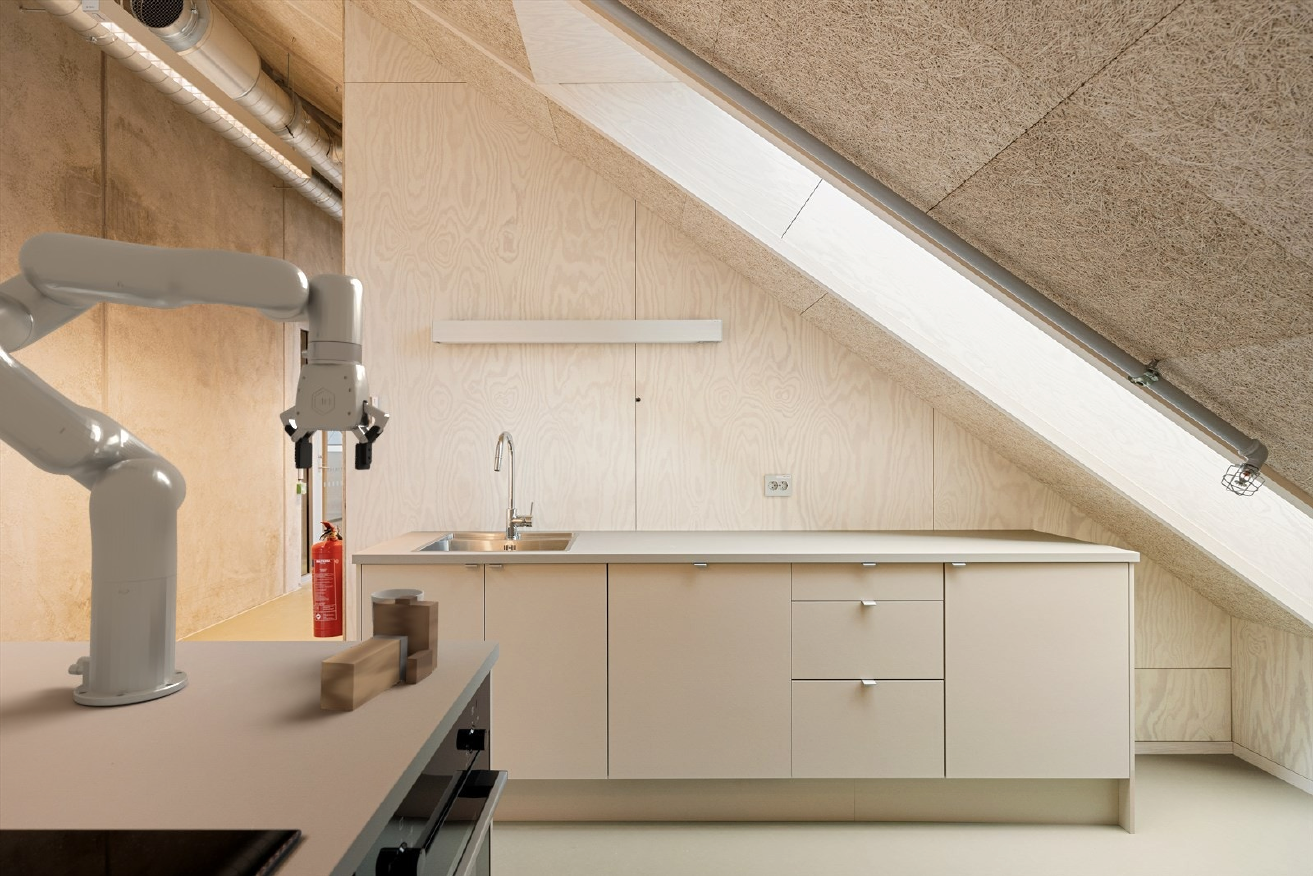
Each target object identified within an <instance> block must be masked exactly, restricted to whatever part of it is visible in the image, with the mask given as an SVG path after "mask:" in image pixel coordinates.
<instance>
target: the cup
mask: <svg viewBox="0 0 1313 876" xmlns="http://www.w3.org/2000/svg"><path fill="white" fill-rule="evenodd" d="M370 595H371V597H370V598H371V601H370V602H371V618H372V619H371V621H372V623H373V611H374V603H376V602H378V601H381V600H383V599H389V600H395V598H398V597H400V596H402V595H406V596H417V601H424V600H425V599H424V597H425V596H424V595H425V591H424V590H422V589H416V588H391V589H390V588H389V589H384V590H383V589H382V590H377V591H375V592H372V593H371V594H370Z"/></svg>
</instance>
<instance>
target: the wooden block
mask: <svg viewBox="0 0 1313 876" xmlns="http://www.w3.org/2000/svg"><path fill="white" fill-rule="evenodd" d="M407 642H408V636H392V635H375V636H373V635H372V637H369V638H368V639H366V640H364V641H362V642H360V643H357V644H355V645H354V646H352V647H350V648H348V649H345V650H344V651H341V652H339V653H337V654H335V655H332V657H329V658H327V659H325V660H323V661H321V665H320V667H321V672H320V673H321V674H320V678H321V679H320V709H321V710H334V711H346V712H347V711H348V712H354V711H355V710H357V709H359V708H360V707H362V706H364V704H365V705H366V703H367V702H370V701H371V700H373V699H374V698H375V697H378V695H381V694H382V693H384V692H385V691H387V690H389V689H390V688H391V687H393V686H394V685H396V684H397V683H400V682H402V681H403V680H406V662H407Z"/></svg>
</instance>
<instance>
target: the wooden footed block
mask: <svg viewBox="0 0 1313 876" xmlns="http://www.w3.org/2000/svg"><path fill="white" fill-rule="evenodd" d="M438 632H439V601H432V600H431V601H430V600H429V601H428V600H423V601H417V596H406V595H402V596H400V597H398V598H395V600H389V599H383V600H381V601H378V602H376V603H374V611H373V622H372V637H373V636H375V635H392V636H408V642H407V662H406V678H405V683H407V684H418V683H420V682H421V681H423V680H424V679H425V678H427V677H429V676H430V675H431V674H432V673H433V670H435V669H436V668H438V641H439V633H438Z"/></svg>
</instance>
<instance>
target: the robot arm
mask: <svg viewBox="0 0 1313 876" xmlns="http://www.w3.org/2000/svg"><path fill="white" fill-rule="evenodd" d="M17 261H18V266H19V269H20V273H18V274H17V275H14V276H13V277H11V278H9V279H7V280H5V281H3V282H1V283H0V440H1V441H2V442H4V443H5V444H6V445H8V446H9V447H10V448H12V449H13V450H14V451H16V452H17V453H19V455H21V456H22V457H24V458H25V459H26V460H27V461H28V462H29V463H31V464H32V465H33V466H35V467H36V468H38V469H40V470H41V471H43V472H45V473H49V474H52V475H59V476H69V477H70V478H71V479H73V480H74V481H76V482H77V483H79V484H80V485H81V486H82V487H84V488H86V490H88V491H90V494H89V495H90V496H89V503H88V515H89V524H90V527H89V528H90V538H91V539H90V540H91V541H90V542H91V567H90V568H91V569H90V571H91V574H90V575H91V577H90V579H91V596H90V600H91V601H90V630H89V631H90V632H89V634H90V635H89V656H86V655H85V656H81V657H79V658H78V659H77V660H76V662H75V663H74V664H70V665H69V667H68V670H67V672H68V674H69V675H72V676H73V675H75V676H81V675H82V681H81V683H82V684H80V685H78V686H77V687H76V688H74V691H73V700H74V702H76V703H78V704H80V705H84V706H96V707H100V706H102V707H103V706H104V707H107V706H119V705H129V704H135V703H139V702H140V703H141V702H145V701H149V700H150V701H151V700H154V699H158V698H161V697H164V696H168V695H170V694H173V693H175V692H178V691H181V690H182V689H183V688H184V687H186V685H187V684H188V678H189V675H188V674H187V673H186V672H185V671H184V670H180V669H176V633H177V632H176V629H177V595H178V593H177V591H178V510H179V509H180V507H182V505H183V503H184V502H185V499H186V495H187V484H186V483H187V482H186V480H185V478H184V475H183V474H182V472H181V471H180V470H179V469H178V468H177V467H176V466H175V465H174V464H173V463H172V462H170V461H169V460H168V459H166V458H165V457H164V456H163V455H161V454H160V453H159V452H157V451H156V450H154V449H153V448H152V447H150V446H149V444H147V443H145V442H144V441H143V440H142V439H140V438H139V437H137V436H136V435H135V434H133V433H132V432H131V431H130V430H128V429H127V428H126V427H124V426H123V425H122V424H120V423H119V422H118V421H116V420H115V419H114V418H112V417H111V416H109V415H107V414H105V413H104V412H102V411H99V410H97V409H94V408H90V407H86V406H83V405H80V404H77V403H76V402H74V401H73V400H71V399H70V398H68V397H67V396H65V394H62V393H61V392H60V391H58V390H57V389H56V388H55V387H53V386H52V385H50V384H49V383H48V382H46V381H45V380H44V379H43V378H41V377H40V376H39V375H38V374H37V373H35V372H34V370H31V369H30V368H29V367H28V366H26V365H24V364H23V363H21V362H20V361H18V360H17V359H16V358H15V357H14V356H12V355H11V354H10V353H15V352H18V351H20V350H23V349H25V348H26V347H29V346H31V345H33V344H34V343H36V342H38V341H40V340H42V339H43V338H45V337H46V336H48V335H49V334H51V333H53V332H55V331H56V330H58V329H60V328H62V327H63V326H64V325H66V324H68V323H70V322H72V321H73V320H75V319H76V318H77V319H78V318H79V317H80V316H81V315H84V314H85V313H86V312H88V311H90V310H91V309H92V308H94V307H95V306H97V305H98V304H100V303H109V304H116V305H127V306H134V307H135V306H136V307H139V308H141V307H142V308H149V309H150V308H151V309H155V310H156V309H157V310H158V309H159V310H175V309H177V310H178V309H181V308H183V307H188V306H192V305H204V304H205V305H207V304H208V305H209V304H210V305H225V306H227V305H228V306H233V307H234V306H235V307H241V308H242V307H243V308H252V309H256V310H257V311H258V312H259V314H260V315H261V316H263V317H265V319H268V320H270V321H273V322H277V323H300V322H302V323H303V322H308V344H307V349H302V351H301V357H302V358H303V359H307V364H302V366H301V369H300V373H299V378H298V381H297V387H296V395H295V402H294V405H293V406H292V407H290V408H288V409H286V410H284V411H283V412H281V413H280V414H279V419H280V420H281V423H282V426H283V427H284V428H283V429H284V431H285V433H286V434H287V435H288V436H289V437H290V440H291V442H292V443H294V462H295V465H294V466H295V469H296V470H301V469H302V470H305V469H311V468H313V443H312V442H309V441H310V439H312V437H313V436H314V435H315V433H317V431H329V432H330V431H333V432H336V431H337V432H339V431H340V432H341V431H342V432H352V433H353V435H354V436H355V437H356V440H358V442H357V443H355V446H354V447H355V448H354V449H355V451H354V457H355V458H354V469H355V470H357V471H362V470H363V471H364V470H370V468H371V465H372V462H373V444H375V443H376V441H377V439H378V438H379V437H380V436H381V435H382V434H383V432H384V429H385V427H386V425H387V423H388V422H389V420H390V415H389V414H388V413H386V412H384V411H383V410H381V409H379V408H378V407H375V406H374V405H372V404H371V398H370V386H369V379H368V374H367V369H366V367H365V366H363V365H362V364H363V321H364V320H363V319H364V318H363V316H364V287H363V283H361V281H360V280H359V279H357V278H356V277H353V276H350V275H346V274H340V273H332V272H331V273H328V272H327V273H320V274H316V275H314V276H313V277H312V278H307V277H306V274H305V273H304V271H302V269H301V268H299V266H297V265H295V264H294V263H292V262H290V261H288V260H285V259H282V258H278V257H273V256H268V255H263V254H262V255H261V254H255V253H250V252H249V253H248V252H241V251H236V250H235V251H233V250H228V249H218V248H217V249H215V248H214V249H213V248H187V247H173V248H172V247H163V246H157V245H148V244H144V243H143V244H141V243H134V242H128V241H120V240H115V239H108V238H102V237H95V236H88V235H81V234H75V233H68V232H59V231H58V232H57V231H56V232H54V231H51V232H50V231H49V232H47V231H46V232H40V233H36V234H34V235H32V236H30V237H29V238H27V239H26V240H25V241H24V242H23V243H22V245H21V247H20V248H19V252H18V260H17ZM371 417H372V418H374V423H373V425H371V427H370V422H371ZM369 427H370V428H369Z"/></svg>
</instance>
